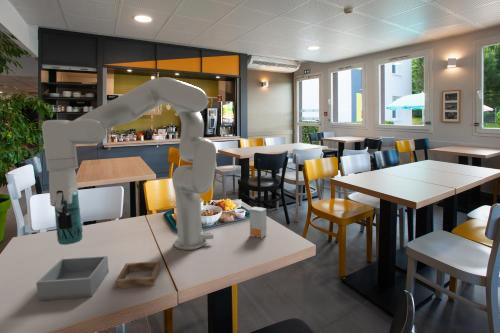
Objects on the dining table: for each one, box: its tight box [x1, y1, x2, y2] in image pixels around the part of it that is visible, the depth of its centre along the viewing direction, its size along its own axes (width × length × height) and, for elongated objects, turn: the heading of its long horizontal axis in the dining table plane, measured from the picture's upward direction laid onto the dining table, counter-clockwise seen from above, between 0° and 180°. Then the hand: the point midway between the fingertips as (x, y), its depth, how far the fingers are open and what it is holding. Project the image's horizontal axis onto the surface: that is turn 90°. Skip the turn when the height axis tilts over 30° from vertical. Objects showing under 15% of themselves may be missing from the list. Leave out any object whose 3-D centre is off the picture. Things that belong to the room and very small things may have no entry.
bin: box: [36, 255, 110, 302], centre depth 91 cm, size 14×14×6 cm
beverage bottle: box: [53, 191, 84, 246], centre depth 87 cm, size 6×7×20 cm
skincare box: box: [249, 206, 267, 239], centre depth 126 cm, size 6×4×12 cm
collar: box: [114, 260, 161, 290], centre depth 95 cm, size 11×11×2 cm
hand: (69, 223), depth 88 cm, fingers closed on beverage bottle, 6 cm apart
